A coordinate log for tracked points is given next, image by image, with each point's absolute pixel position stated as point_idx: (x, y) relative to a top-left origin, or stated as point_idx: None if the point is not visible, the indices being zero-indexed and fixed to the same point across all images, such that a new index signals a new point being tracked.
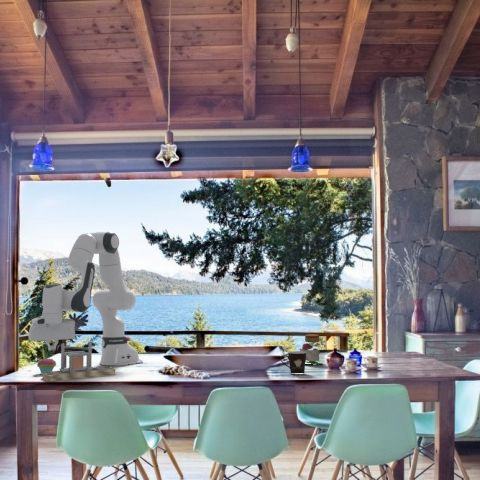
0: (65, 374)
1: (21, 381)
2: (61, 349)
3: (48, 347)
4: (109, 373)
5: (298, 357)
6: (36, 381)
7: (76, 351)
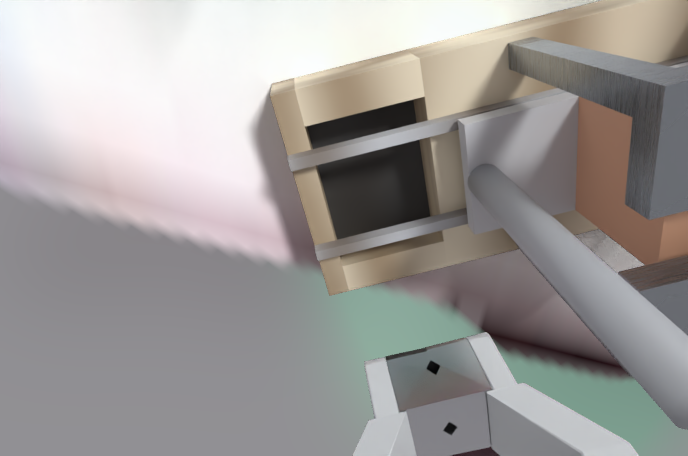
0: (476, 257)
1: (88, 200)
2: (597, 334)
3: (372, 404)
4: None
5: None
6: (228, 238)
7: None
